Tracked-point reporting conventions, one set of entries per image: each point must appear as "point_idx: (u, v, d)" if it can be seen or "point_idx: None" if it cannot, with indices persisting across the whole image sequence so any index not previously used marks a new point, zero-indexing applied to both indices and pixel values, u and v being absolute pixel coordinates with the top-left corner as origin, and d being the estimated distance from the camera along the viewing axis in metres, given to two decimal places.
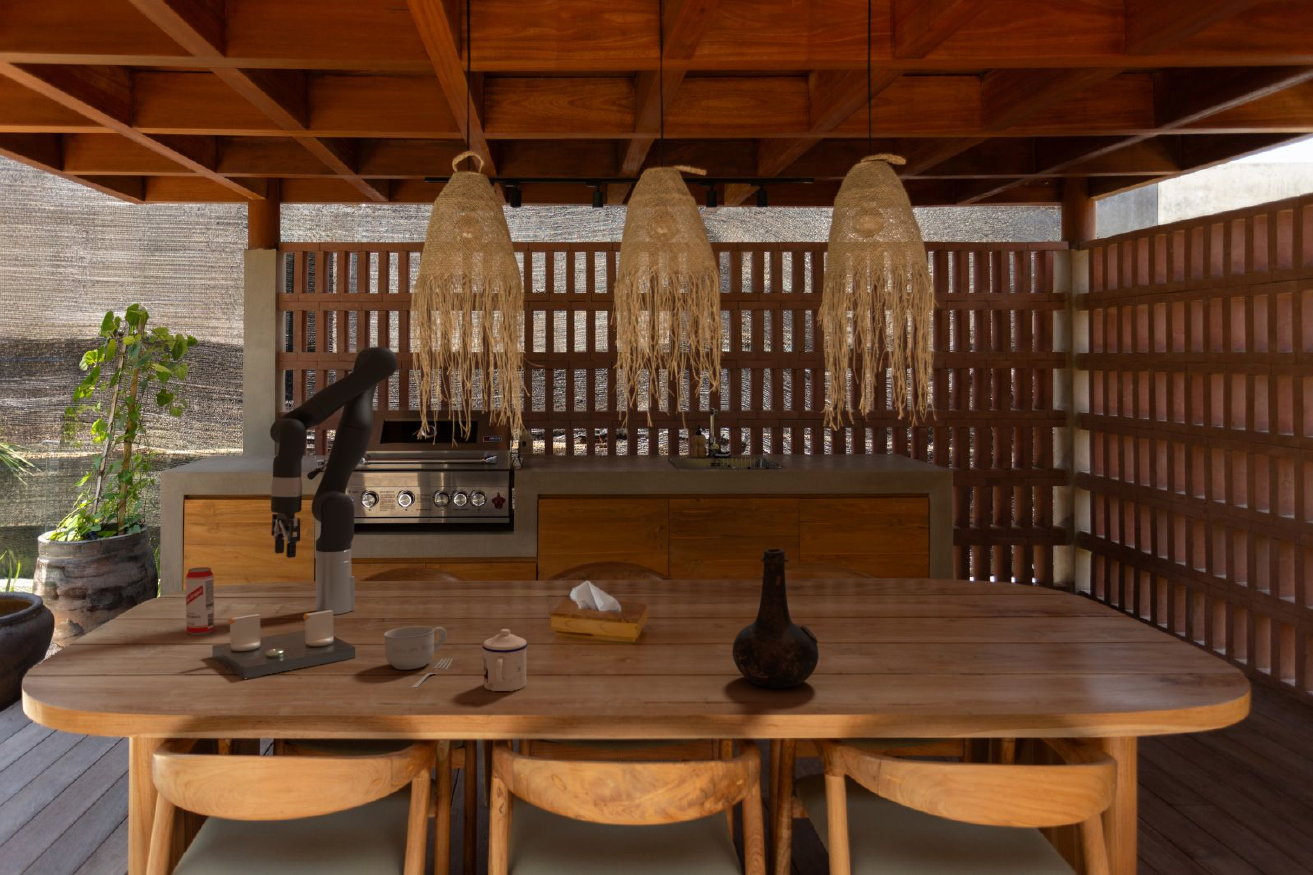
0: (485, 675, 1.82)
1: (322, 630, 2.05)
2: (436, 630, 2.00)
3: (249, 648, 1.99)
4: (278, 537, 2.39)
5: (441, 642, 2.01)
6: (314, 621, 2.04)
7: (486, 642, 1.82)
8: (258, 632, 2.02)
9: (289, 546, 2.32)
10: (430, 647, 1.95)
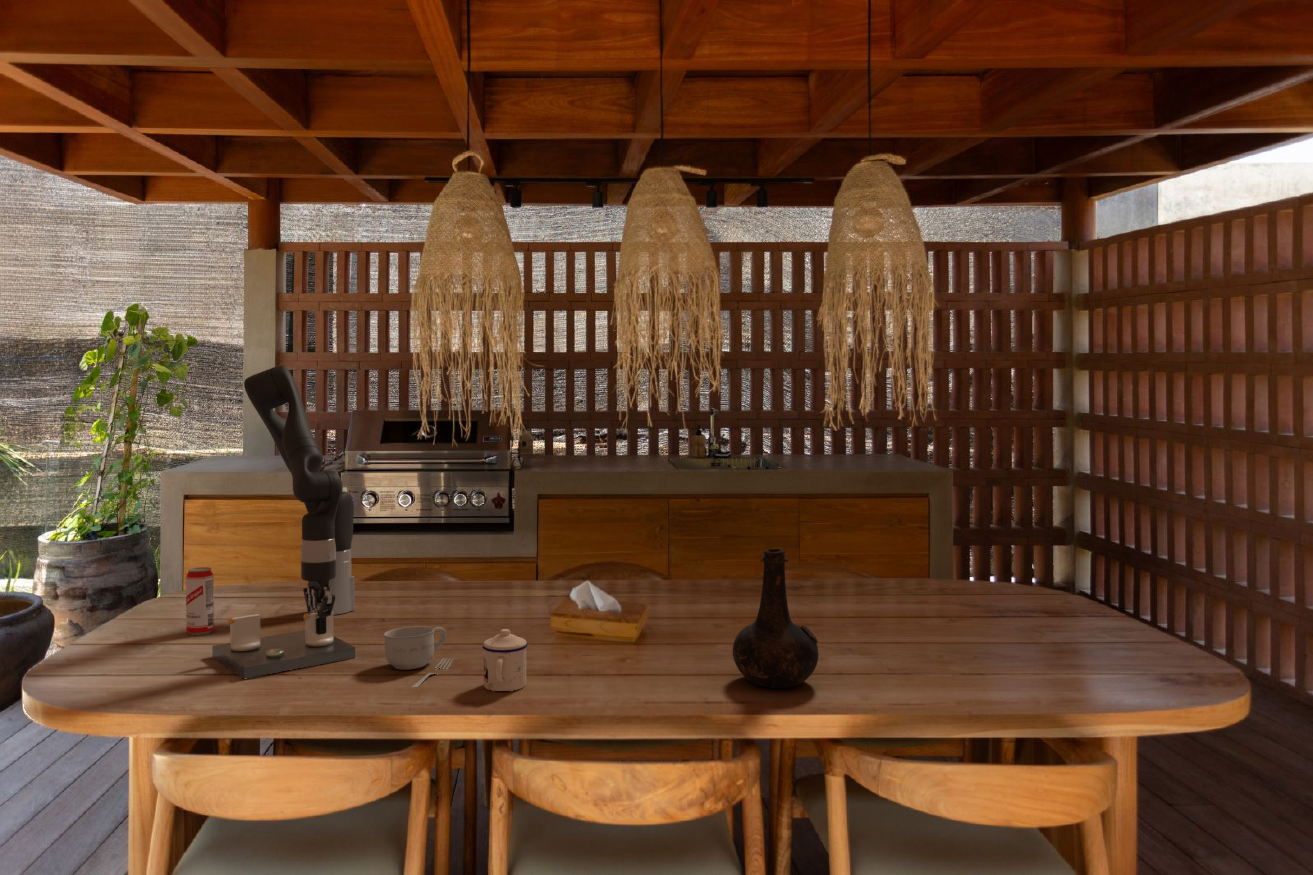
0: (485, 675, 1.82)
1: None
2: (436, 630, 2.00)
3: (249, 648, 1.99)
4: None
5: (441, 642, 2.01)
6: (314, 621, 2.04)
7: (486, 642, 1.82)
8: (258, 632, 2.02)
9: (319, 621, 2.03)
10: (430, 647, 1.95)
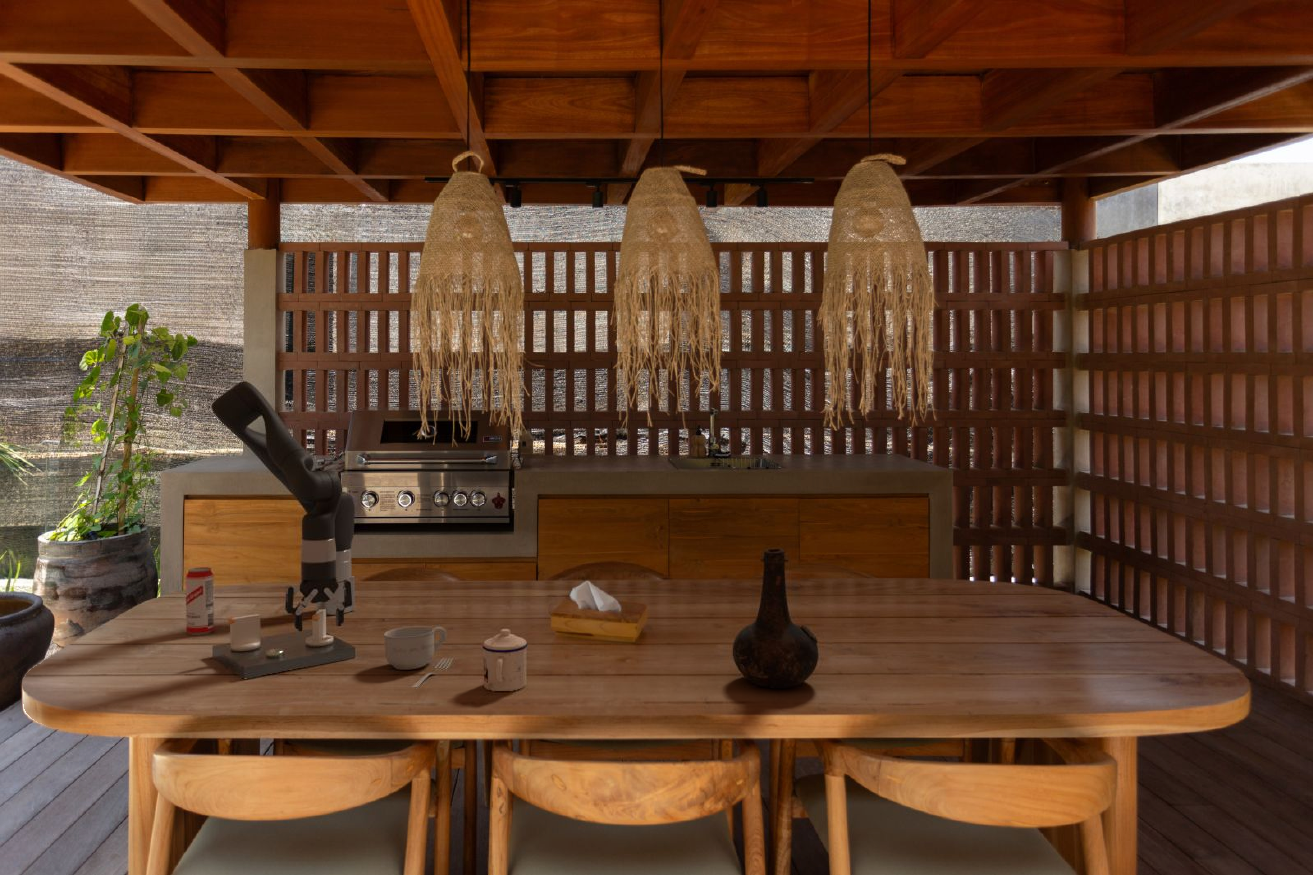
0: (485, 675, 1.82)
1: (323, 629, 2.06)
2: (436, 630, 2.00)
3: (249, 648, 1.99)
4: None
5: (441, 642, 2.01)
6: (320, 621, 2.04)
7: (486, 642, 1.82)
8: (258, 632, 2.02)
9: (342, 613, 2.07)
10: (430, 647, 1.95)
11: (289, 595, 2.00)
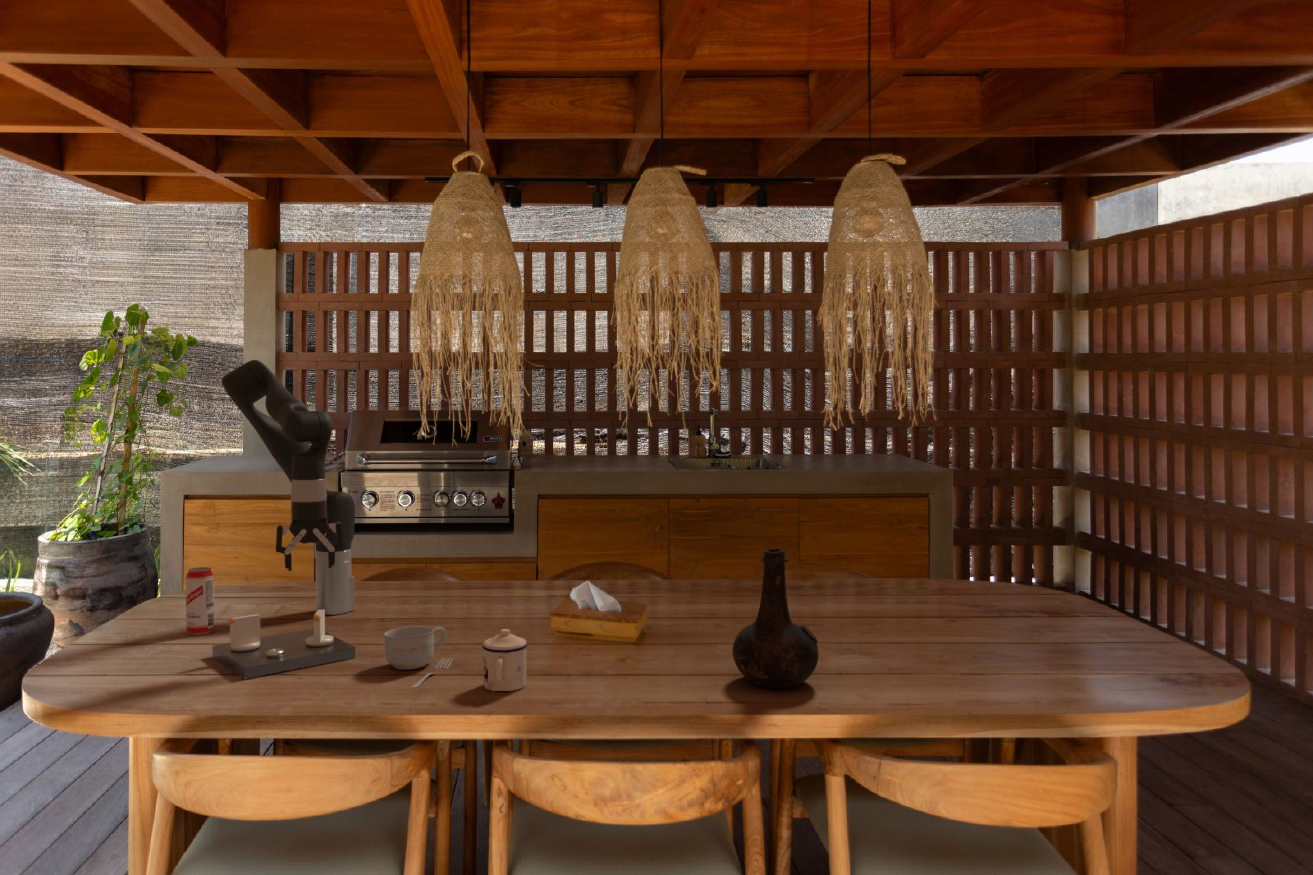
0: (485, 675, 1.82)
1: (322, 629, 2.06)
2: (436, 630, 2.00)
3: (249, 648, 1.99)
4: (290, 552, 2.02)
5: (441, 642, 2.01)
6: (321, 621, 2.04)
7: (486, 642, 1.82)
8: (258, 632, 2.02)
9: (333, 555, 2.05)
10: (430, 647, 1.95)
11: (278, 534, 2.00)
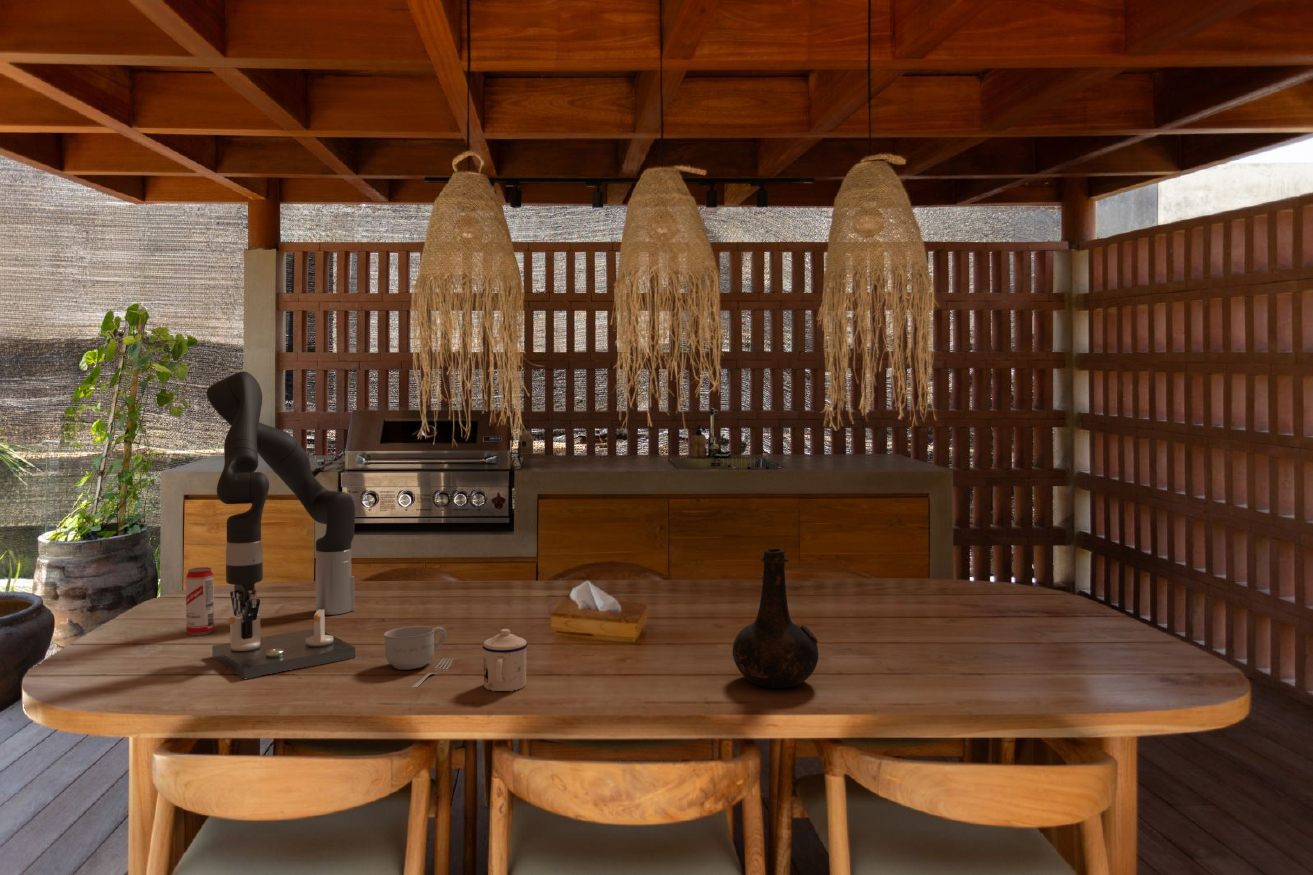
0: (485, 675, 1.82)
1: (322, 629, 2.06)
2: (436, 630, 2.00)
3: (249, 648, 1.99)
4: None
5: (441, 642, 2.01)
6: (321, 621, 2.04)
7: (486, 642, 1.82)
8: (258, 632, 2.02)
9: (244, 626, 1.99)
10: (430, 647, 1.95)
11: (231, 599, 2.04)
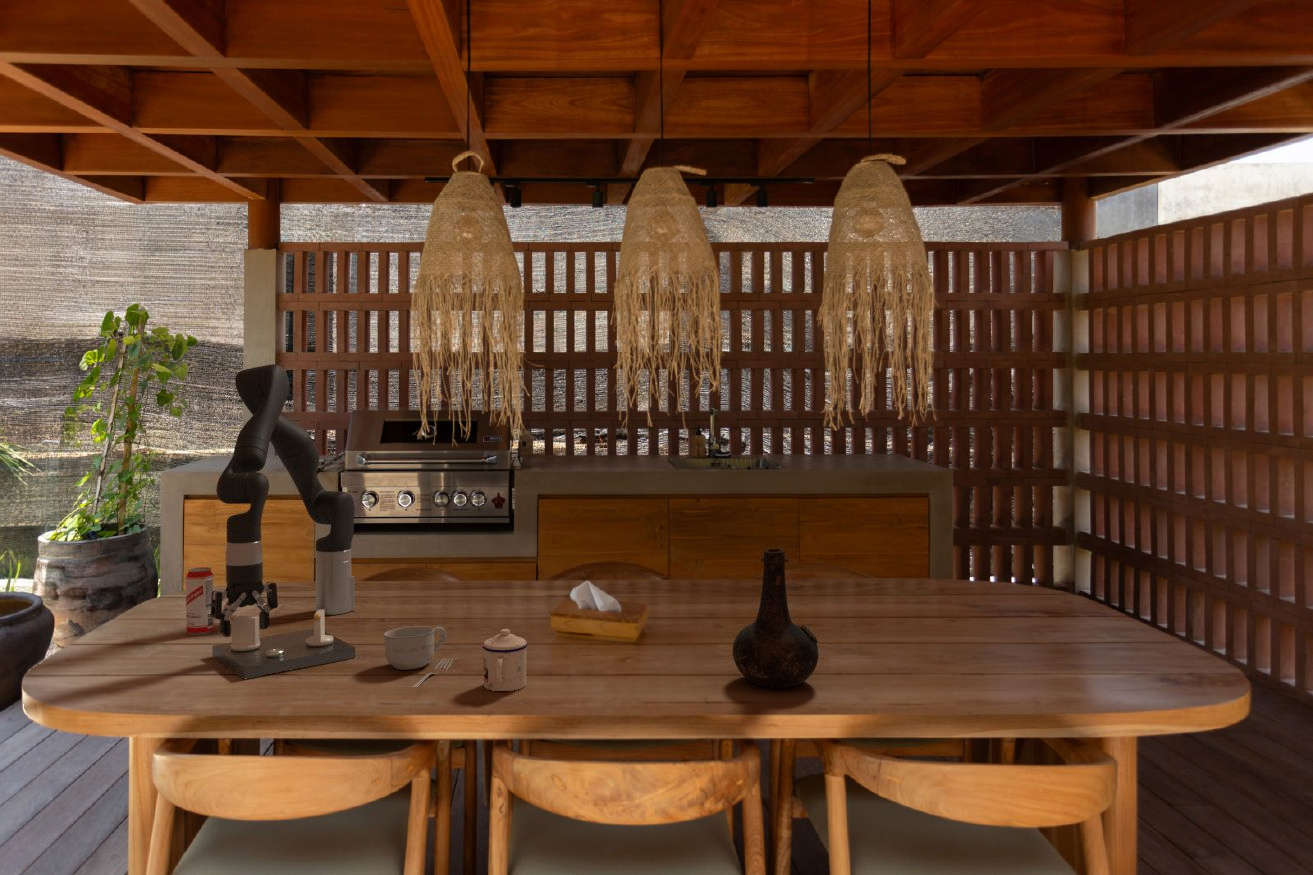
0: (485, 675, 1.82)
1: (322, 629, 2.06)
2: (436, 630, 2.00)
3: (236, 649, 1.98)
4: (261, 610, 2.04)
5: (441, 642, 2.01)
6: (321, 621, 2.04)
7: (486, 642, 1.82)
8: (253, 635, 2.00)
9: None
10: (430, 647, 1.95)
11: None
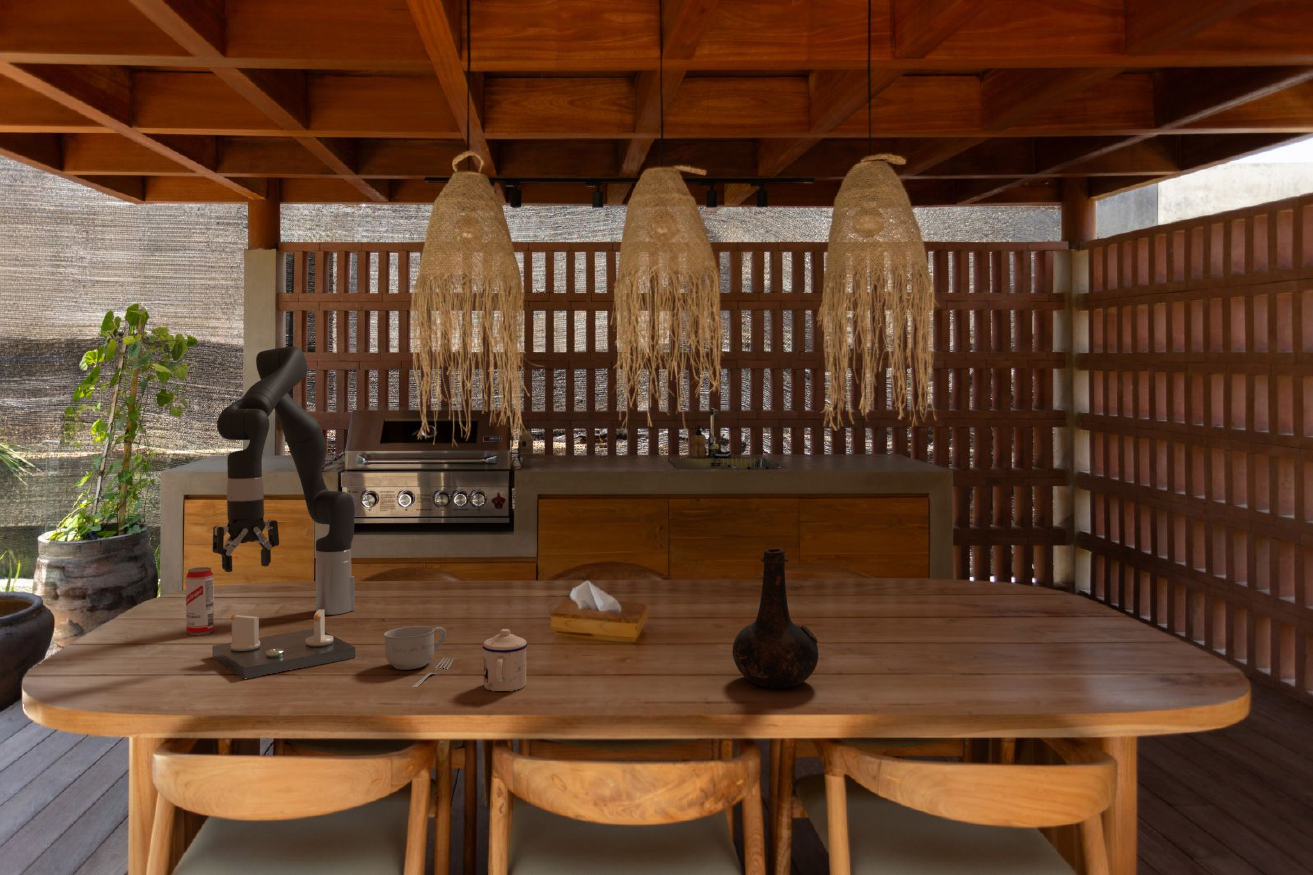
0: (485, 675, 1.82)
1: (322, 629, 2.06)
2: (436, 630, 2.00)
3: (235, 649, 1.98)
4: (263, 547, 2.05)
5: (441, 642, 2.01)
6: (321, 621, 2.04)
7: (486, 642, 1.82)
8: (252, 635, 2.00)
9: None
10: (430, 647, 1.95)
11: None
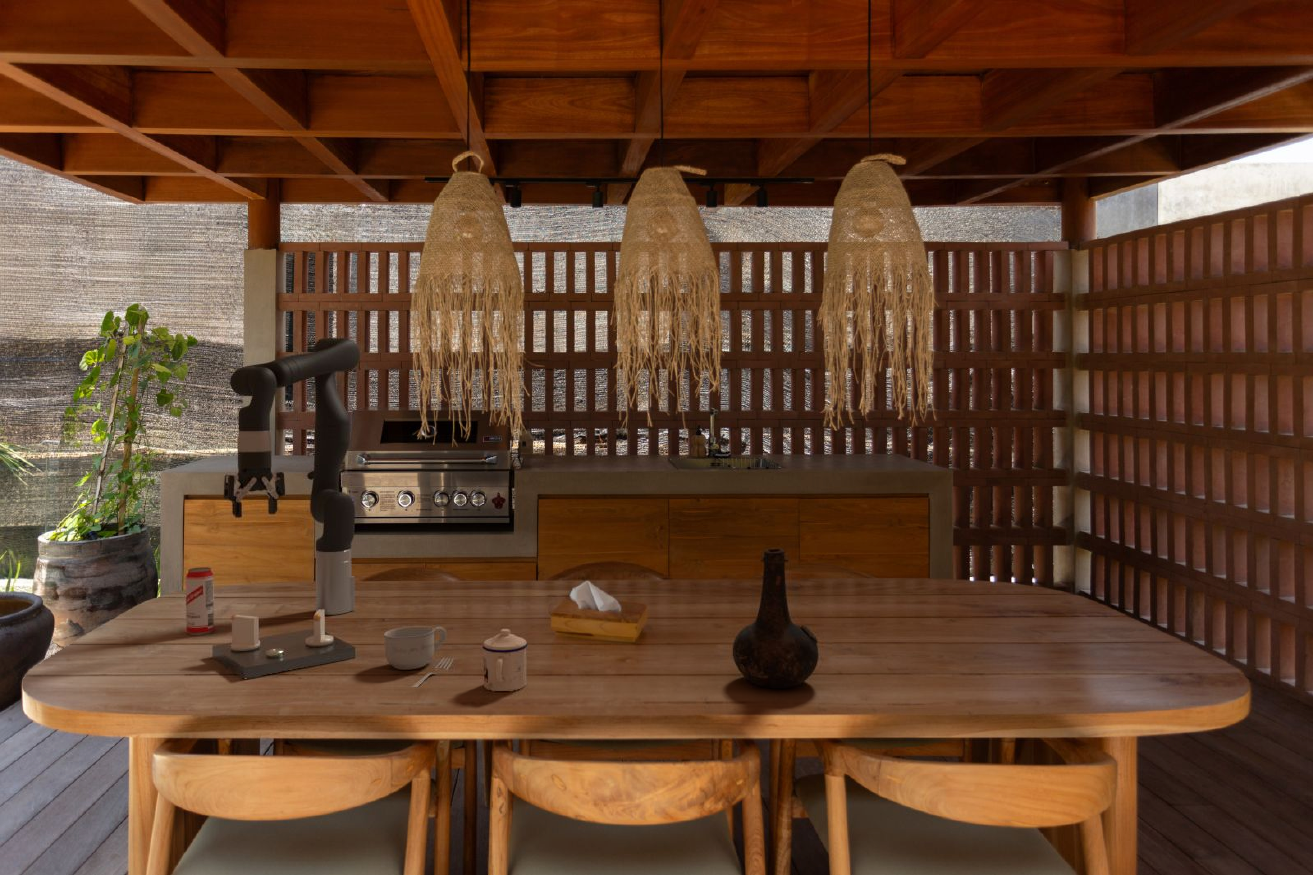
0: (485, 675, 1.82)
1: (322, 629, 2.06)
2: (436, 630, 2.00)
3: (235, 649, 1.98)
4: (270, 496, 2.21)
5: (441, 642, 2.01)
6: (321, 621, 2.04)
7: (486, 642, 1.82)
8: (252, 635, 2.00)
9: None
10: (430, 647, 1.95)
11: None
